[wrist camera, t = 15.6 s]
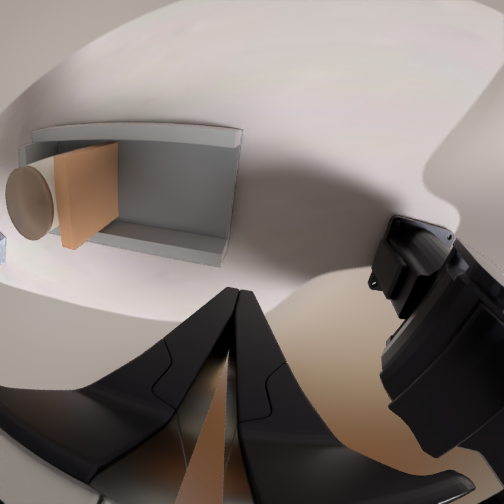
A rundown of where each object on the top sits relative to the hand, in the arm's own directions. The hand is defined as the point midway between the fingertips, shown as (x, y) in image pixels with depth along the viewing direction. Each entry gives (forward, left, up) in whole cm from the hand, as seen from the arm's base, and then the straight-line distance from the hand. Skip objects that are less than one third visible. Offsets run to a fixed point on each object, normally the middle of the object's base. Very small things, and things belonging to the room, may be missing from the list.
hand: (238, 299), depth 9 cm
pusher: (+12, 0, -11) cm, 16 cm away
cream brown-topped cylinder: (+15, 0, -11) cm, 19 cm away
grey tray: (+10, 0, -12) cm, 16 cm away
